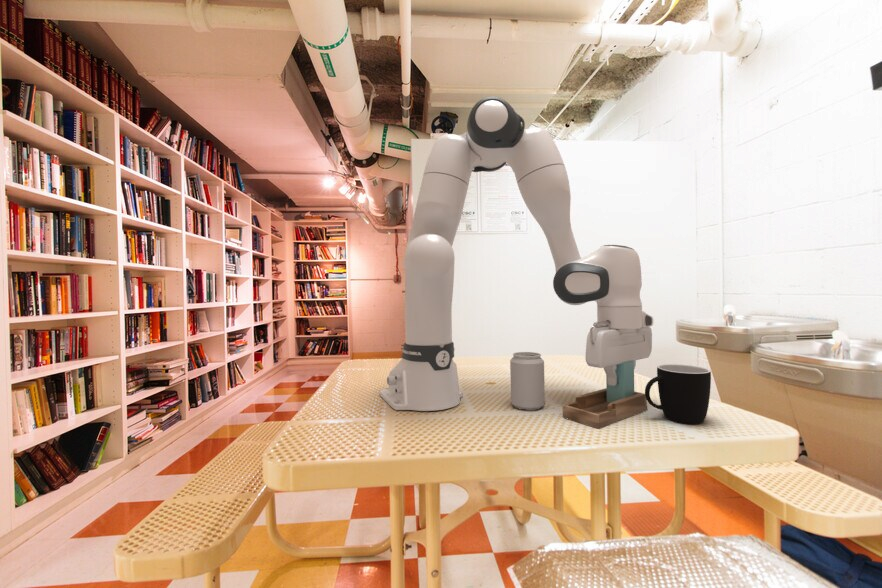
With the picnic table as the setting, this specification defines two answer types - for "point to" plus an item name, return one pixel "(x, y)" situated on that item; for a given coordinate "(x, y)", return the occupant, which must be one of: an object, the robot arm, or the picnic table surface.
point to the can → (527, 380)
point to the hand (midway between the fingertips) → (620, 382)
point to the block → (622, 382)
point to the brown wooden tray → (603, 408)
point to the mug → (682, 392)
